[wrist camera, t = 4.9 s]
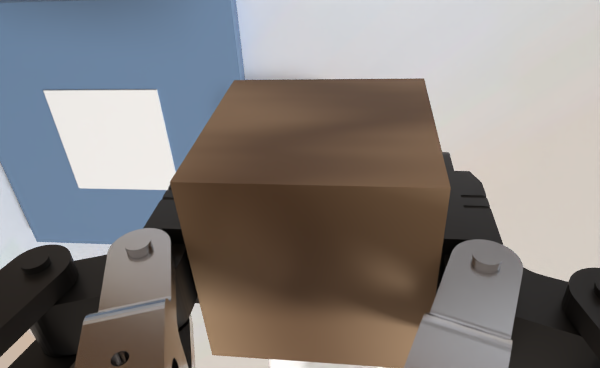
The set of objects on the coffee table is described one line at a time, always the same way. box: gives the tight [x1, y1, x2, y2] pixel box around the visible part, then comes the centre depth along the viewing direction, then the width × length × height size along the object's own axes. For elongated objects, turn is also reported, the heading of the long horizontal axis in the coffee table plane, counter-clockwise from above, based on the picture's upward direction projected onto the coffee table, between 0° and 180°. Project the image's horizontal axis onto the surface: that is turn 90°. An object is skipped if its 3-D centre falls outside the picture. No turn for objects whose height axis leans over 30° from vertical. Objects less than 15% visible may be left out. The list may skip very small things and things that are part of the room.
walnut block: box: [170, 79, 451, 368], centre depth 12 cm, size 5×5×5 cm
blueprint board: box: [0, 0, 245, 244], centre depth 29 cm, size 16×16×1 cm
